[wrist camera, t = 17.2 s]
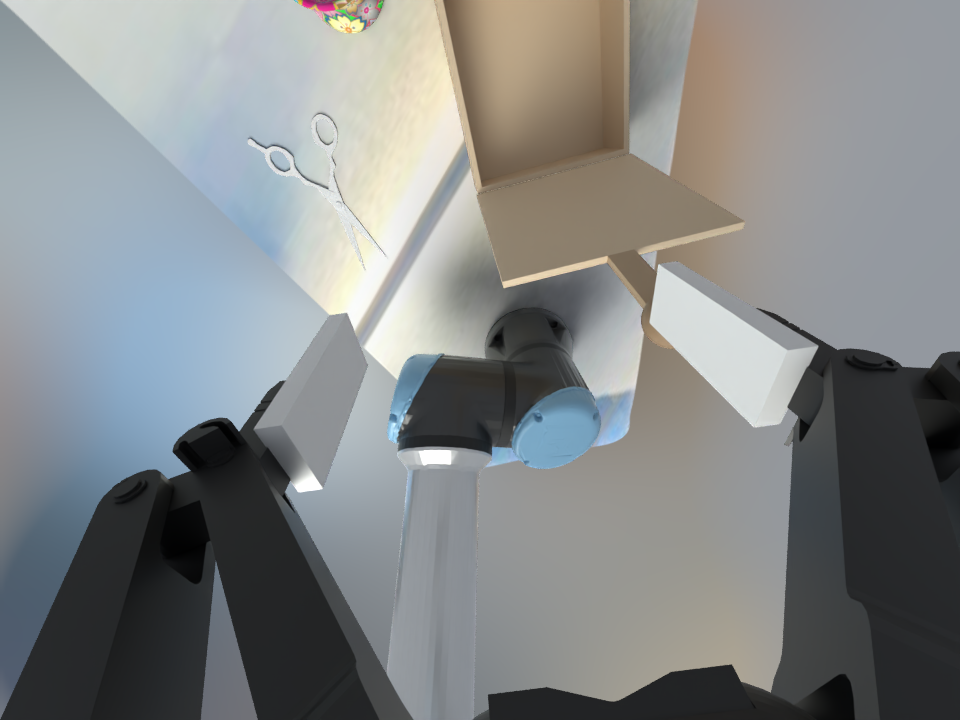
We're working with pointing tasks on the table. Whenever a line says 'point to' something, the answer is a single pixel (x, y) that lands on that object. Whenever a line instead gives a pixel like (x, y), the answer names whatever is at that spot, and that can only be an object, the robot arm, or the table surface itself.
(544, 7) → the box
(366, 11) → the mug
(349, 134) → the table surface
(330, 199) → the scissors
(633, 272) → the lid
